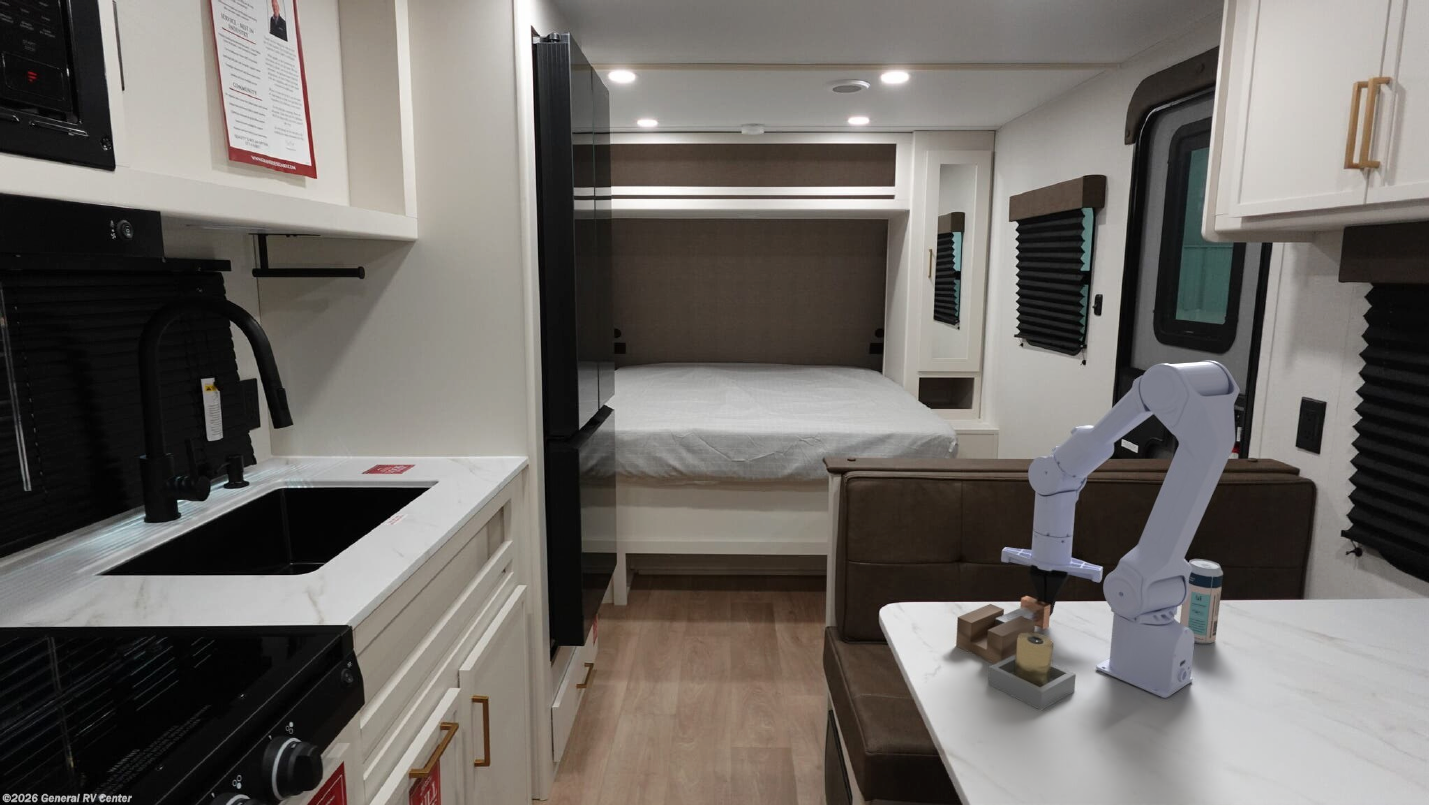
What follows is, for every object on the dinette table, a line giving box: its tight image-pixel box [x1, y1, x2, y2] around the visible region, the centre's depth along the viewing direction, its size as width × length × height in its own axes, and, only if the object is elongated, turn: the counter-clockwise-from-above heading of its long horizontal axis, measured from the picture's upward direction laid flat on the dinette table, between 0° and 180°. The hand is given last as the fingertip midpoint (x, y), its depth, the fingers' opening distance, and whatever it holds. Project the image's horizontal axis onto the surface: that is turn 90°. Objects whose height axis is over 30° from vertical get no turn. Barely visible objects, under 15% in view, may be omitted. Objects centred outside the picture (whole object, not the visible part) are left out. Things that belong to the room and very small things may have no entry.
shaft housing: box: [955, 603, 1036, 665], centre depth 113 cm, size 8×8×5 cm
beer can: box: [1179, 558, 1224, 645], centre depth 115 cm, size 5×5×12 cm
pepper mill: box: [1014, 632, 1054, 687], centre depth 102 cm, size 4×4×6 cm
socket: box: [987, 654, 1077, 711], centre depth 103 cm, size 8×8×2 cm
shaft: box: [995, 595, 1051, 630], centre depth 116 cm, size 4×10×4 cm, turn 125°
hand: (1046, 613), depth 121 cm, fingers closed
